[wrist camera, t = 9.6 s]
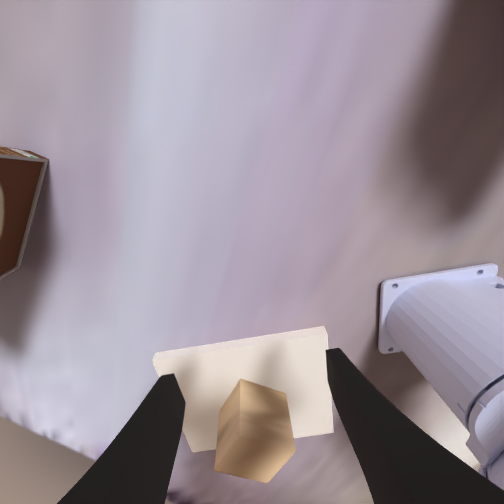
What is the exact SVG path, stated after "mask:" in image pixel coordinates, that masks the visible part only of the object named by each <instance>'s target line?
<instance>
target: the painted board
mask: <svg viewBox="0 0 504 504" xmlns="http://www.w3.org/2000/svg"><path fill="white" fill-rule="evenodd" d="M325 350H328V336H327V332H326V330H325V327H324V326H320V327H314V328H308V329H301V330H295V331H289V332H282V333H276V334H270V335H263V336H257V337H251V338H244V339H238V340H232V341H225V342H219V343H213V344H206V345H200V346H194V347H187V348H181V349H175V350H168V351H162V352H156V353H155V355H154V357H153V360H152V362H153V364H154V367H155V369H156V371H157V374H158V376H159V378H160V377H161V375H166V374H173V373H174V375H175V377H176V380H177V382H178V385H179V387H180V390H181V392H182V394H183V397H184V399H185V402H186V405H185V413H184V420H183V427H182V430H183V433H184V435H185V437H186V439H187V442H188V444H189V446H190V449H191V451H192V453H194V452H201V451H208V450H215V449H216V444H217V434H218V423H219V413H220V410H221V408H222V406H223V405H224V403H225V402H226V400H227V399H228V397H229V395H230V394H231V392H232V391H233V389H234V388H235V386H236V385H237V383H238V381H239V380H240V378H241V379H244V380H247V381H250V382H253V383H256V384H259V385H262V386H265V387H268V388H271V389H274V390H277V391H280V392H283V393H286V397H287V403H288V408H289V414H290V420H291V425H292V431H293V437H294V438H299V437H306V436H313V435H320V434H327V433H334V432H333V416H332V400H331V391H330V387H329V384H328V380H327V365H326V351H325Z"/></svg>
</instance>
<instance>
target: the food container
mask: <svg viewBox="0 0 504 504" xmlns="http://www.w3.org/2000/svg"><path fill="white" fill-rule="evenodd" d="M48 161H49V159H47V158H45V157H42V156H40V155H38V154H35V153H33V152H31V151H26V150H20V149H14V148H8V147H2V146H0V279H2V278H3V277H5V276H7V275H9V274H10V273H12V272H14V271H16V270H17V269H19V268H20V266H21V262H22V259H23V255H24V251H25V247H26V244H27V240H28V236H29V232H30V229H31V225H32V221H33V217H34V214H35V210H36V206H37V202H38V199H39V195H40V191H41V187H42V184H43V180H44V176H45V172H46V169H47V165H48Z"/></svg>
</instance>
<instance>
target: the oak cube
mask: <svg viewBox="0 0 504 504" xmlns="http://www.w3.org/2000/svg"><path fill="white" fill-rule="evenodd" d="M295 452H296V448H295V442H294V437H293V431H292V425H291V420H290V414H289V408H288V403H287V397H286V393H283V392H280V391H277V390H274V389H271V388H268V387H265V386H262V385H259V384H256V383H253V382H250V381H247V380H244V379H241V378H240V380H239V381H238V383H237V385H236V386H235V388H234V389H233V391H232V392H231V394H230V395H229V397H228V399H227V400H226V402H225V403H224V405H223V406H222V408H221V410H220V413H219V423H218V434H217V444H216V455H215V465H214V471H217V472H221V473H226V474H230V475H234V476H238V477H242V478H247V479H251V480H255V481H259V482H263V483H268V482H269V481H270V480H271V479H272V477H273V476H274V475H275V474H276V473H277V472H278V471H279V470H280V468H281V467H282V466H283V465H284V464H285V463H286V462H287V461H288V459H289V458H290V457H291V456H292V455H293V454H294V453H295Z"/></svg>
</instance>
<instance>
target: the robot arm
mask: <svg viewBox="0 0 504 504" xmlns="http://www.w3.org/2000/svg"><path fill="white" fill-rule="evenodd" d="M497 271H498V266H497V265H495V264H492V263H488V264H482V265H476V266H470V267H464V268H458V269H452V270H445V271H439V272H433V273H427V274H421V275H415V276H409V277H402V278H396V279H390V280H386V281H384V282H383V283H382V284H381V295H380V319H379V343H378V349H379V351H380V352H381V353H382V354H388V353H395V352H401V351H403V352H404V353H405V354H406V355H407V357H408V358H409V359H410V360H411V362H412V363H413V364H414V365H415V366H416V368H417V369H418V370H419V371H420V373H421V374H422V375H423V376H424V377H425V379H426V380H427V381H428V382H429V384H430V385H431V386H432V387H433V388H434V390H435V391H436V392H437V393H438V395H439V396H440V397H441V398H442V399H443V401H444V402H445V403H446V404H447V406H448V407H449V408H450V409H451V411H452V412H453V413H454V414H455V415H456V417H457V418H458V419H459V420H460V422H461V423H462V424H463V425H464V426H465V428H466V429H467V430H468V431H469V433H470V437H469V439H468V440H467V442H466V445H467V447H468V448H469V449H470V451H471V452H472V453H473V455H474V456H475V457H476V458H477V460H478V461H479V462H480V464H481V465H480V467H479V469H478V472H477V471H475V470H474V469H473V468H471V467H470V466H469V465H467V464H466V463H464V462H463V461H462V460H460V459H459V458H458V457H456V456H455V455H454V454H452V453H451V452H450V451H448V450H447V449H446V448H444V447H443V446H442V445H440V444H439V443H438V442H436V441H435V440H434V439H433V438H431V437H430V436H429V435H428V434H426V433H425V432H424V431H423V430H422V429H420V428H419V427H418V426H417V425H416V424H414V423H413V422H412V421H411V420H410V419H409V418H407V417H406V416H405V415H404V414H403V413H402V412H401V411H400V410H398V409H397V408H396V407H395V406H394V405H393V404H392V403H391V402H390V401H389V400H388V399H387V398H386V397H385V396H383V395H382V394H381V393H380V392H379V391H378V390H377V389H376V388H375V387H374V386H373V385H372V384H371V383H370V382H369V380H368V379H367V378H366V377H365V376H364V375H363V374H362V373H361V372H360V371H359V370H358V369H357V368H356V367H355V365H354V364H353V363H352V362H351V361H350V360H349V359H348V357H347V356H346V355H345V354H344V353H343V351H342V350H341V349H340V348H335V349H328V350H325V351H326V365H327V380H328V384H329V387H330V391H331V394H332V397H333V400H334V403H335V406H336V408H337V411H338V413H339V416H340V418H341V420H342V423H343V425H344V427H345V430H346V432H347V434H348V437H349V439H350V441H351V444H352V446H353V448H354V451H355V453H356V455H357V458H358V460H359V463H360V465H361V468H362V470H363V473H364V475H365V478H366V481H367V484H368V487H369V489H370V492H371V495H372V498H373V501H374V504H504V279H502V278H500V277H498V276H496V275H497ZM393 284H395V285H394V286H392V285H393ZM185 405H186V402H185V399H184V397H183V394H182V392H181V390H180V387H179V385H178V382H177V380H176V377H175V375H174V373H173V374H166V375H161V377H160V378H159V379H158V381H157V382H156V383H155V385H154V386H153V388H152V389H151V390H150V392H149V393H148V395H147V396H146V397H145V399H144V400H143V402H142V403H141V404H140V406H139V407H138V409H137V410H136V411H135V413H134V414H133V415H132V417H131V418H130V419H129V421H128V422H127V423H126V425H125V426H124V427H123V429H122V430H121V431H120V432H119V434H118V435H117V436H116V438H115V439H114V440H113V441H112V443H111V444H110V445H109V446H108V448H107V449H106V450H105V451H104V453H103V454H102V455H101V456H100V457H99V458H98V460H97V461H96V462H95V463H94V464H93V466H92V467H91V468H90V469H89V470H88V471H87V472H86V474H85V475H84V476H83V477H82V478H81V479H80V480H79V481H78V482H77V483H76V484H75V485H74V487H73V488H72V489H71V490H70V491H69V492H68V493H67V494H66V495H65V496H64V497H63V498H62V499H61V500H60V501H59V502H58V503H57V504H164V503H165V499H166V494H167V489H168V485H169V481H170V477H171V473H172V469H173V465H174V461H175V457H176V453H177V449H178V444H179V440H180V436H181V432H182V427H183V420H184V413H185Z"/></svg>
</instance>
